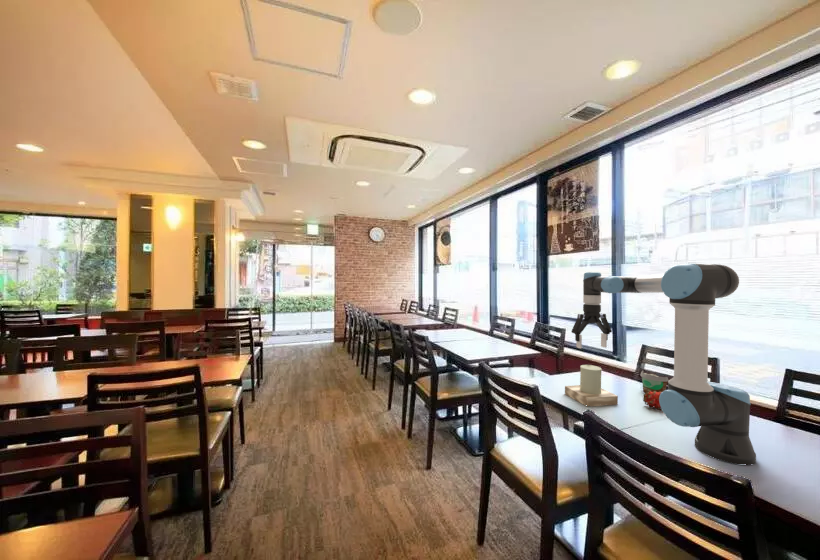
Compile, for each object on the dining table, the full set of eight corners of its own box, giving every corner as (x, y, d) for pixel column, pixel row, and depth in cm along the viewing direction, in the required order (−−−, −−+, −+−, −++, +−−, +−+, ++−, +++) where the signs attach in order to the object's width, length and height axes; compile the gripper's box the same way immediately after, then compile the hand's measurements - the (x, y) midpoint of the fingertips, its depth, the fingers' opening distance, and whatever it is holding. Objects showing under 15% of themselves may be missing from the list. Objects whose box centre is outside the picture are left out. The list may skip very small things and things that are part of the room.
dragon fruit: (639, 409, 150) (666, 414, 149) (651, 405, 143) (680, 410, 142) (635, 391, 155) (662, 395, 154) (647, 386, 148) (674, 390, 147)
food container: (634, 390, 170) (635, 371, 170) (641, 389, 173) (642, 370, 173) (661, 399, 159) (661, 378, 159) (668, 397, 162) (668, 377, 161)
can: (595, 387, 163) (596, 364, 162) (605, 394, 153) (605, 369, 153) (576, 387, 164) (577, 363, 163) (584, 393, 154) (585, 368, 154)
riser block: (617, 404, 152) (617, 395, 152) (587, 406, 149) (587, 398, 149) (592, 392, 168) (592, 384, 168) (564, 393, 165) (565, 386, 165)
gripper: (608, 302, 163) (607, 344, 164) (563, 303, 159) (563, 346, 159) (620, 304, 156) (620, 348, 156) (574, 304, 152) (573, 350, 152)
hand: (591, 347), depth 158 cm, fingers open, 13 cm apart
